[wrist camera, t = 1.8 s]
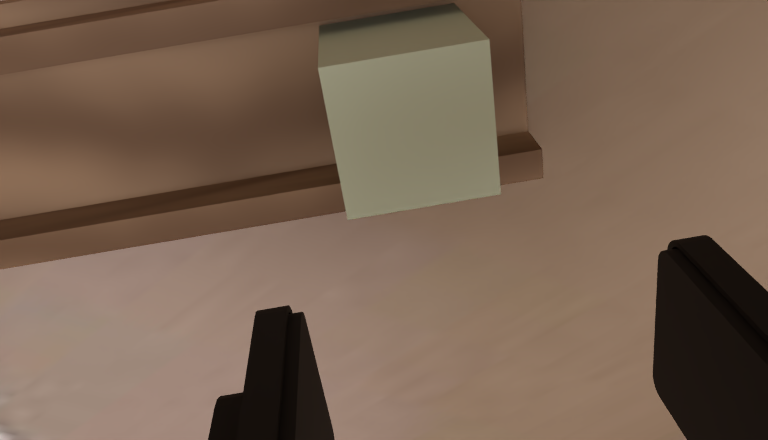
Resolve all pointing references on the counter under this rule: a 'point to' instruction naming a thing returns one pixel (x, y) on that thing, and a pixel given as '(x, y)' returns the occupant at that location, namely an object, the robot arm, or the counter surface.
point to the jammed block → (410, 109)
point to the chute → (190, 117)
